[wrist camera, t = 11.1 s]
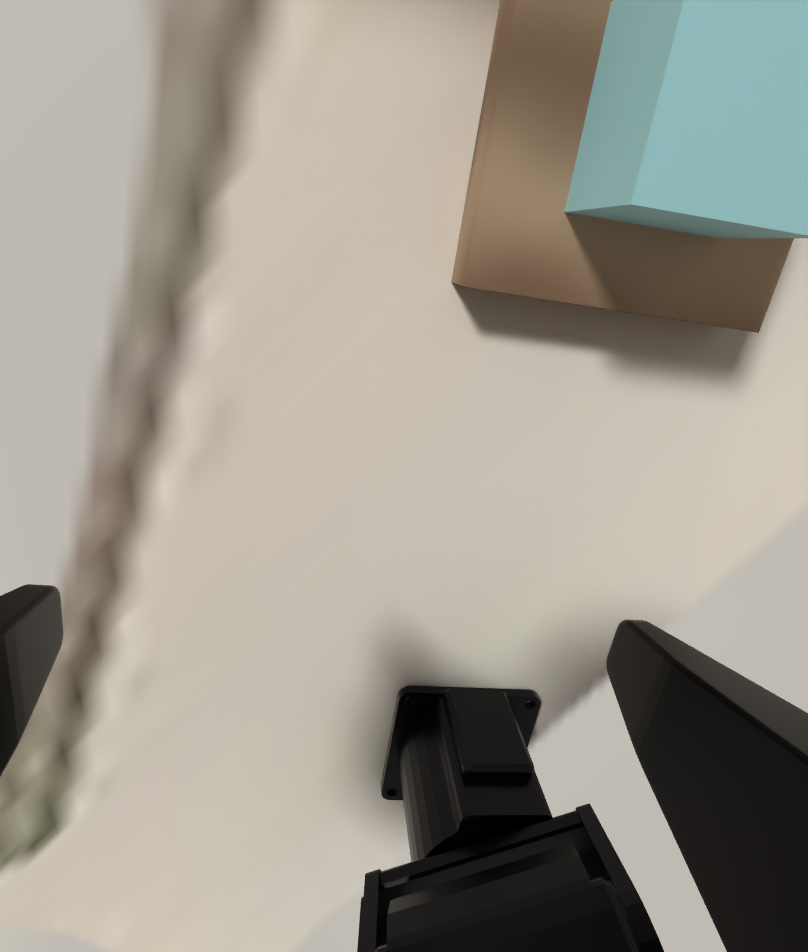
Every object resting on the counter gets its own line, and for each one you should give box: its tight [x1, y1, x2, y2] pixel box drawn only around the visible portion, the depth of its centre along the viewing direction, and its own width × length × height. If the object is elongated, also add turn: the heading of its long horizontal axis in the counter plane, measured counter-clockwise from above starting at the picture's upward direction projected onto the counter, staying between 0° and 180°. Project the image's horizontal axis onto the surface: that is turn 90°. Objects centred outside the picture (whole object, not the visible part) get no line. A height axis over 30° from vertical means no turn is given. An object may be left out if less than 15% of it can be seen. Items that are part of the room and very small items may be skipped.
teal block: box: [565, 0, 808, 238], centre depth 14 cm, size 5×5×4 cm
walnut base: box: [452, 0, 794, 333], centre depth 17 cm, size 10×10×2 cm
